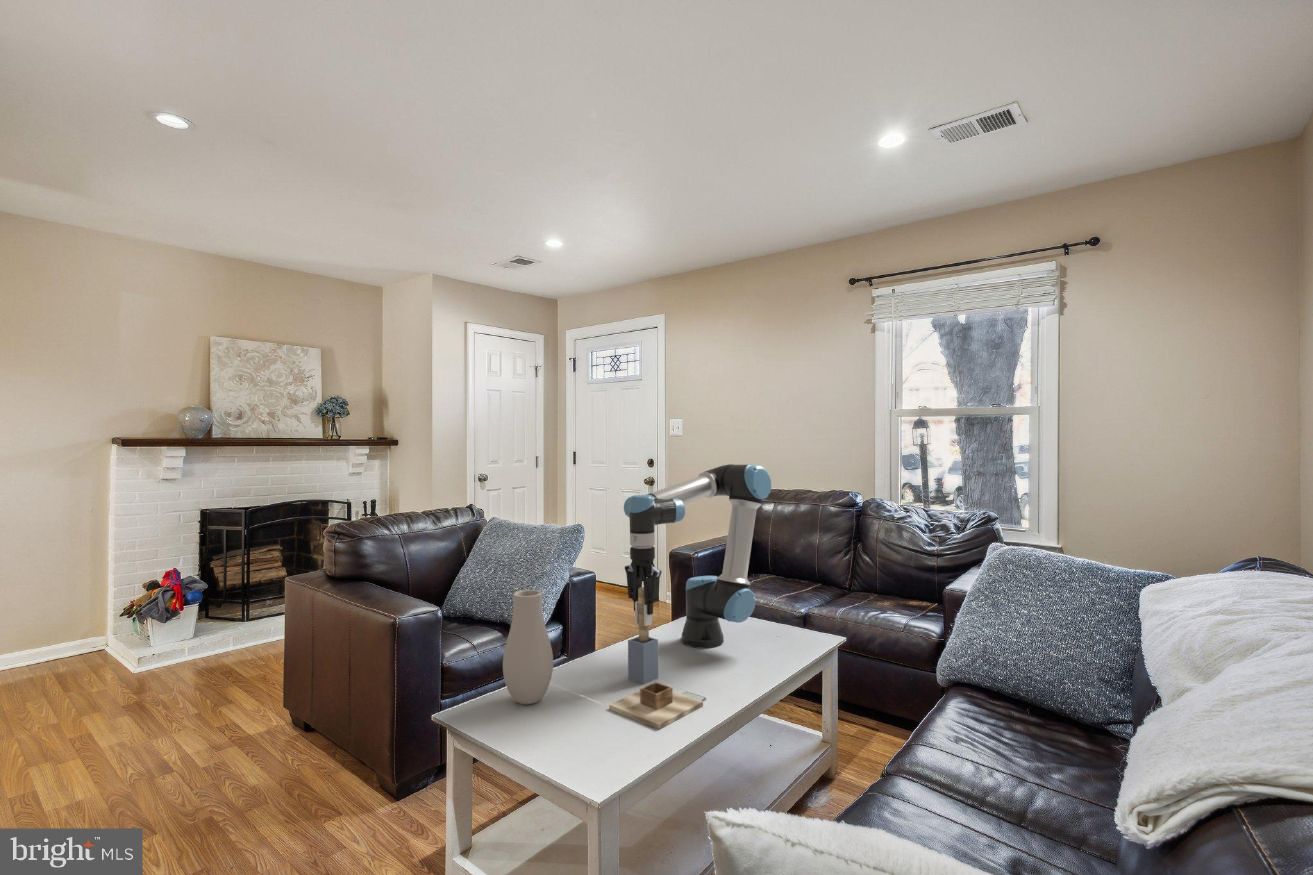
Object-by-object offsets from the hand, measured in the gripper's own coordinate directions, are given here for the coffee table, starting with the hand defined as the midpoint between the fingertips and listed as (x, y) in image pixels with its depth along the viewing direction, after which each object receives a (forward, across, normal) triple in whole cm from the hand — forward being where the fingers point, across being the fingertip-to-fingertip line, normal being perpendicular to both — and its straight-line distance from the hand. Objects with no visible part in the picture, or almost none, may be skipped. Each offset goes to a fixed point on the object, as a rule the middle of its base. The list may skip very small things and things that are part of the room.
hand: (643, 623), depth 185 cm
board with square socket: (+17, +16, -12) cm, 26 cm away
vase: (+17, -14, -32) cm, 39 cm away
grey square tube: (+17, 0, 0) cm, 17 cm away
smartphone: (+17, +20, -7) cm, 27 cm away
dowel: (+13, 0, 0) cm, 13 cm away
